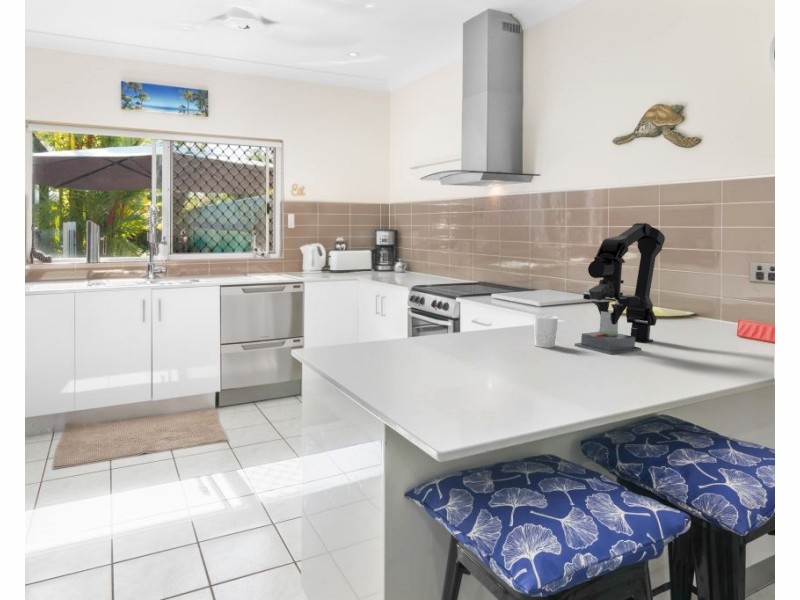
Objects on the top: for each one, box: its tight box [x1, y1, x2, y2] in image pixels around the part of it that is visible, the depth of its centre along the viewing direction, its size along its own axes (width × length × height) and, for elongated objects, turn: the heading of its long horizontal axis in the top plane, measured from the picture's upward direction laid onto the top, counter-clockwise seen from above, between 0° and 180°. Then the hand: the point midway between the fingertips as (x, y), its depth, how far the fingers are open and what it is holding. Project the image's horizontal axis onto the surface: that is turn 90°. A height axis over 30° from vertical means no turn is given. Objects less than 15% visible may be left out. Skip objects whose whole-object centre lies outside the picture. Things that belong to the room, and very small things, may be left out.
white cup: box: [533, 314, 559, 349], centre depth 192 cm, size 8×8×10 cm
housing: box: [574, 331, 642, 356], centre depth 190 cm, size 15×15×5 cm
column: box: [598, 310, 619, 337], centre depth 189 cm, size 4×4×8 cm
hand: (609, 323), depth 189 cm, fingers closed on column, 4 cm apart
